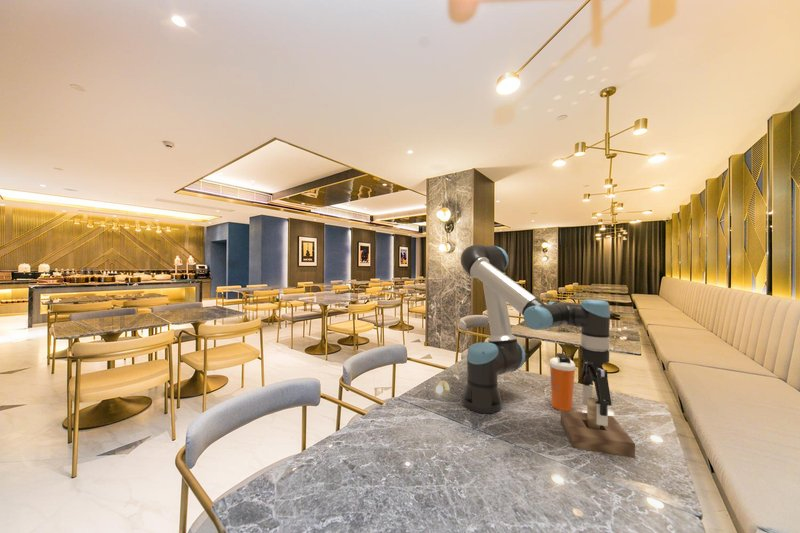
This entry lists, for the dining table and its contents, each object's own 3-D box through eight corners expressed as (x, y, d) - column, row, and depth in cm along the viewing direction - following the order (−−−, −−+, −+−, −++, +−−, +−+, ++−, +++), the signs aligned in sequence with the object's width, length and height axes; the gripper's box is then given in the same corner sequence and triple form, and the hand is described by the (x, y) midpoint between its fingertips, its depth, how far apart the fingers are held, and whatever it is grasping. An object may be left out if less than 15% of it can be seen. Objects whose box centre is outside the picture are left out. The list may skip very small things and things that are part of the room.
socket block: (572, 447, 91) (573, 434, 91) (560, 420, 106) (560, 409, 106) (634, 457, 87) (635, 443, 87) (612, 428, 102) (612, 416, 102)
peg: (589, 439, 96) (589, 401, 95) (585, 433, 99) (586, 397, 99) (601, 441, 94) (602, 403, 94) (597, 435, 98) (598, 398, 98)
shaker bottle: (568, 402, 121) (569, 352, 121) (579, 413, 112) (580, 359, 112) (545, 400, 122) (546, 352, 122) (554, 411, 113) (555, 358, 113)
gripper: (626, 361, 83) (624, 437, 83) (594, 339, 107) (594, 398, 107) (595, 358, 85) (594, 432, 86) (571, 338, 109) (570, 396, 110)
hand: (594, 414), depth 96 cm, fingers open, 13 cm apart
